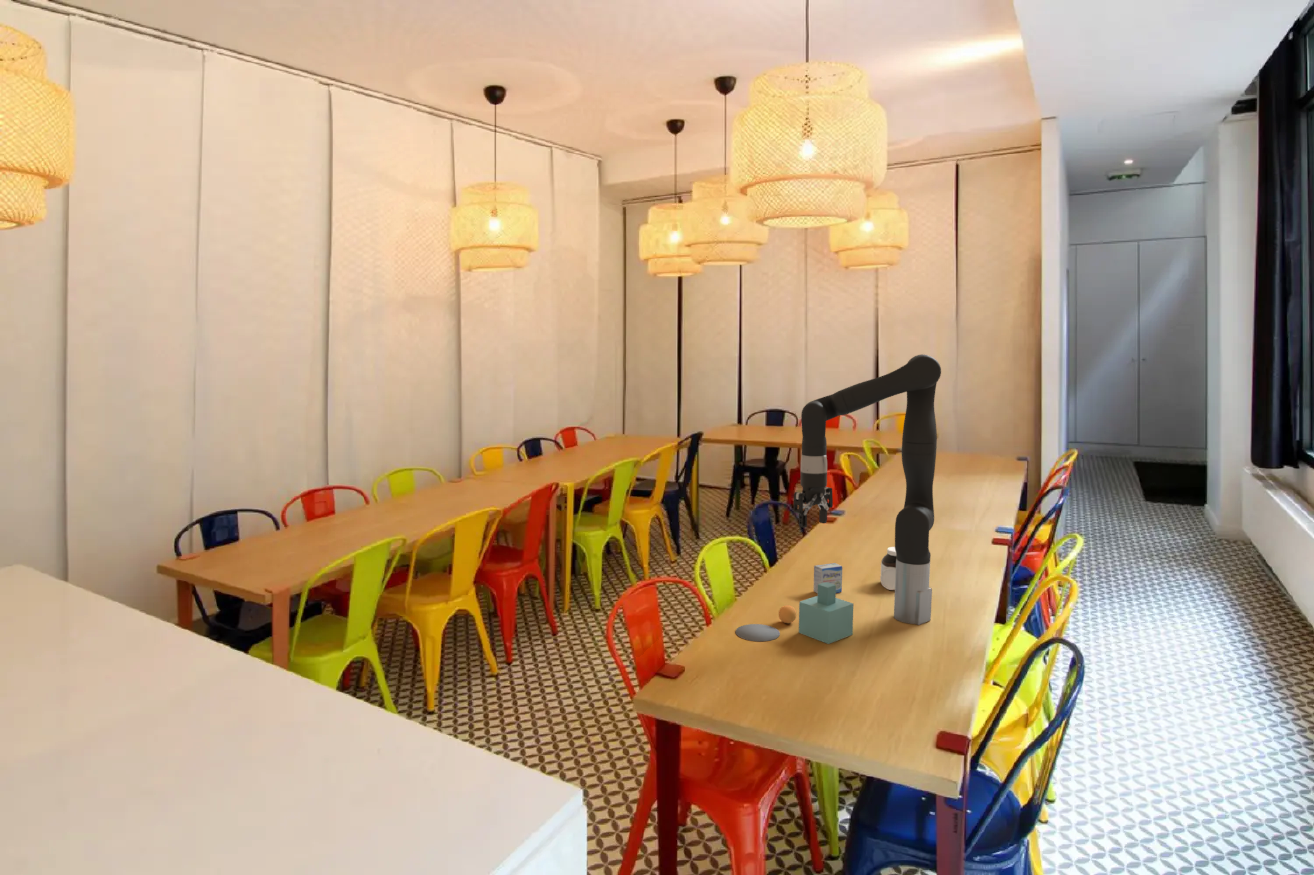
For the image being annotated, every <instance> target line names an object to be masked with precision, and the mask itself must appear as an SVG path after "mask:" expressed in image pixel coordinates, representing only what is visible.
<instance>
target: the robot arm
mask: <svg viewBox="0 0 1314 875" xmlns="http://www.w3.org/2000/svg"><path fill="white" fill-rule="evenodd" d="M941 375H942V367H941V365H940V363H939V361H938V360H937V359H936V358H935V357H933V356H932V355H928V354H924V353H923V354H917V355H913V356H912V357H911V358H910V359H909V360H908V361H907V363H906V364H904V365H902V366H900V367H898V368H897V369H895V370H893V371H891V372H888V373H886V374H884V375H881V376H878V377H875V378H872V379H869V380H864V381H862V382H859V383H855V384H853V385H850V386H848V387H845V388H843V389H841V390H838V391H835V392H834V393H833V394H829V395H825V396H823V397H820V398H817V399H814V400H811V401H809V402H808V403H806V404H805V405H804V406H803V408H802V410H801V416H800V417H801V419H800V420H801V423H800V424H801V434H802V438H801V440H802V441H801V458H800V459H801V460H800V486H801V487H802V490H801V492H797V491H795V492H794V494H793V513H796V514H798V526H799V527H800V528H804V529H805V528H807V527H808V516H807V514H808V512H809V510H810V509H812V507H813V506H815V505H817V506H818V508H819V518H818V520H819V523H821V524H827V522H828V521H827V520H828V511H829V509H830V508H833V506H834V505H833V504H834V502H833V501H834V499H833V498H834V496H833V488H832V487H828V486H827V485H828V459H827V458H828V456H827V437H826V428H827V427H826V426H827V421H829V420H832V419H834V418H837V417H839V416H845V415H848V414H851V413H854V412H857V411H859V410H861V409H865V408H867V407H869V406H871V405H873V404H876V403H878V402H882V401H884V400H885V399H888V398H891V397H893V396H897V395H900V394H903V393H906V409H905V414H904V421H903V429H902V437H901V464H902V469H903V474H904V477H905V478H904V479H905V484H906V485H905V486H906V487H905V488H906V489H905V497H904V498H905V500H904V504H903V505H904V506H903V508H902V509H901V510H900V511H899V512H898V513H897V515H896V518H895V523H894V547H895V551H896V576H895V590H894V600H893V602H894V604H893V618H894V619H895V620H896V621H898V622H902V623H904V624H910V625H911V624H913V625H918V626H920V625H923V624H925V623H926V622H930V621H931V618H932V601H933V600H932V599H933V598H932V597H933V596H932V595H933V589H932V587H930V578H931V577H930V576H931V575H930V574H931V551H930V549H929V546H930V544H929V542H930V531H931V529H932V528H933V526H934V523H935V509H934V492H933V491H934V490H933V489H934V479H935V472H936V471H935V470H936V460H937V447H938V446H937V444H938V443H937V441H938V440H937V439H938V438H937V437H938V436H937V433H938V432H937V430H938V429H937V421H936V414H935V412H936V411H935V396H936V390H937V389H936V388H937V383H938V381H939V379H940V378H941Z"/></svg>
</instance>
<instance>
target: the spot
mask: <svg viewBox="0 0 1314 875" xmlns="http://www.w3.org/2000/svg"><path fill="white" fill-rule="evenodd" d="M735 634H736V636H737V637H739V638H741V639H744V640H745V641H751V642H771V641H773V640H776V639H778V638H779V637H780V634H781V632H780V630H779V629H777V628H776V627H774V626H771V625H767V624H762V623H761V624H760V623H749V624H744V625H741V626H738V627H737V628H736V629H735Z"/></svg>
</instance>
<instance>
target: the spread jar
mask: <svg viewBox="0 0 1314 875" xmlns="http://www.w3.org/2000/svg"><path fill="white" fill-rule="evenodd" d="M895 576H896V551H895V546H889V547H887V549H886V554H885V555H884V556H883V557H882V559H881V563H880V576H879V577H880V579H879V580H880V584H881V585H882V587H884V588H885V589H886V590H890V591H895Z"/></svg>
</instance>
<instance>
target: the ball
mask: <svg viewBox="0 0 1314 875" xmlns="http://www.w3.org/2000/svg"><path fill="white" fill-rule="evenodd" d="M778 618H779V619H780V621H781V622H782V623H784V624H791V623H794V621H796V618H797V611H796V609H795V607H794V606H792V605H789V604H788V605H787V604H785V605H783V606H781V608H779V610H778Z"/></svg>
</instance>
